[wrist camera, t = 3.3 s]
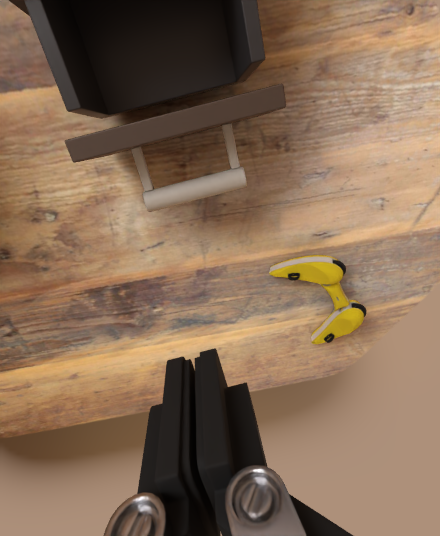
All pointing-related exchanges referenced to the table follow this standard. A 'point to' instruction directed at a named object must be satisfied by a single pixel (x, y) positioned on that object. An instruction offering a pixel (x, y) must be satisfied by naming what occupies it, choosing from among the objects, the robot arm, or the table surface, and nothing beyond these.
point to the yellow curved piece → (328, 275)
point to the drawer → (155, 76)
